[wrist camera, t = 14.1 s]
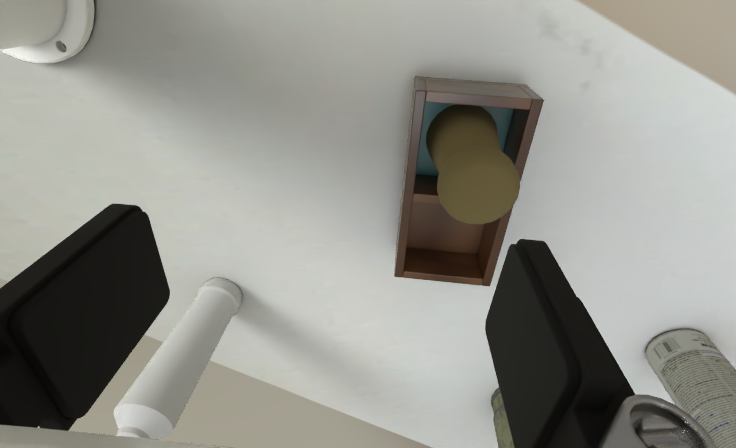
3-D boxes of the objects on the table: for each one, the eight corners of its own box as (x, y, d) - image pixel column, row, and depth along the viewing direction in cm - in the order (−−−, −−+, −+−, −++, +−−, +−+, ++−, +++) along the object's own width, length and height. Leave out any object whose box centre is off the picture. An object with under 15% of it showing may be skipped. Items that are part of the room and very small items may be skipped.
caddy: (395, 247, 41) (394, 276, 37) (414, 76, 32) (415, 90, 27) (481, 255, 40) (490, 286, 36) (526, 84, 31) (544, 99, 27)
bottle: (239, 277, 45) (89, 531, 24) (247, 309, 48) (117, 562, 27) (198, 274, 46) (14, 521, 25) (207, 306, 48) (49, 553, 27)
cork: (434, 97, 31) (445, 143, 22) (507, 109, 31) (549, 161, 22) (419, 165, 34) (422, 230, 25) (485, 176, 34) (513, 245, 25)
